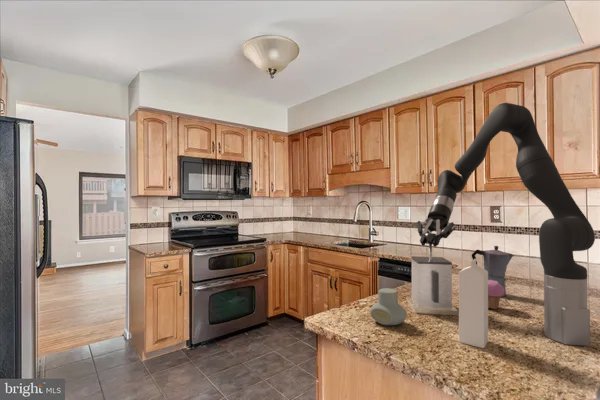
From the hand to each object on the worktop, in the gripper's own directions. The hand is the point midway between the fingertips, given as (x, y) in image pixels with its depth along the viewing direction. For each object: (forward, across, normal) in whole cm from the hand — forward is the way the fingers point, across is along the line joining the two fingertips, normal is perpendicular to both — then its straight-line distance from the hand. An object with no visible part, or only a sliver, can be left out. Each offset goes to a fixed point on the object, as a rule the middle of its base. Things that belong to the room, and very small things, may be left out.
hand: (428, 244), depth 113 cm
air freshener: (+32, -4, +1) cm, 32 cm away
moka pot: (-10, +11, +43) cm, 45 cm away
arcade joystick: (+15, 0, +18) cm, 23 cm away
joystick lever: (+13, 0, +16) cm, 21 cm away
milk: (+29, +20, +3) cm, 35 cm away
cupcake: (+4, +15, +28) cm, 32 cm away
